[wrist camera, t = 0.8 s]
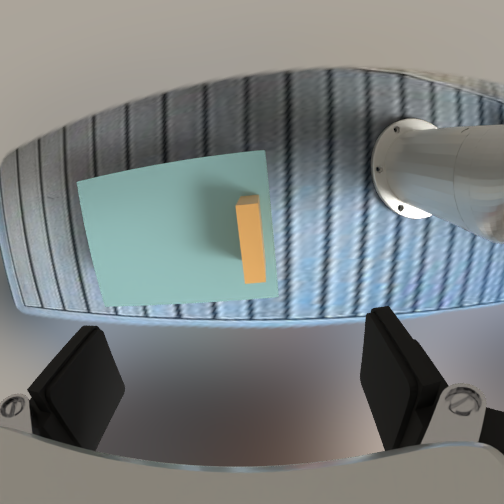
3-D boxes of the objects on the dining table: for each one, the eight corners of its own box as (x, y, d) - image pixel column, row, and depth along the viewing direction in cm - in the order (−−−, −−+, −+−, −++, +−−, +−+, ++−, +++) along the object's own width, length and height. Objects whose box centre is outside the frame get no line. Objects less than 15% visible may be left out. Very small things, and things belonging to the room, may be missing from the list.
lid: (264, 150, 28) (265, 148, 20) (277, 285, 32) (281, 323, 24) (90, 179, 29) (47, 188, 22) (115, 296, 33) (84, 329, 26)
